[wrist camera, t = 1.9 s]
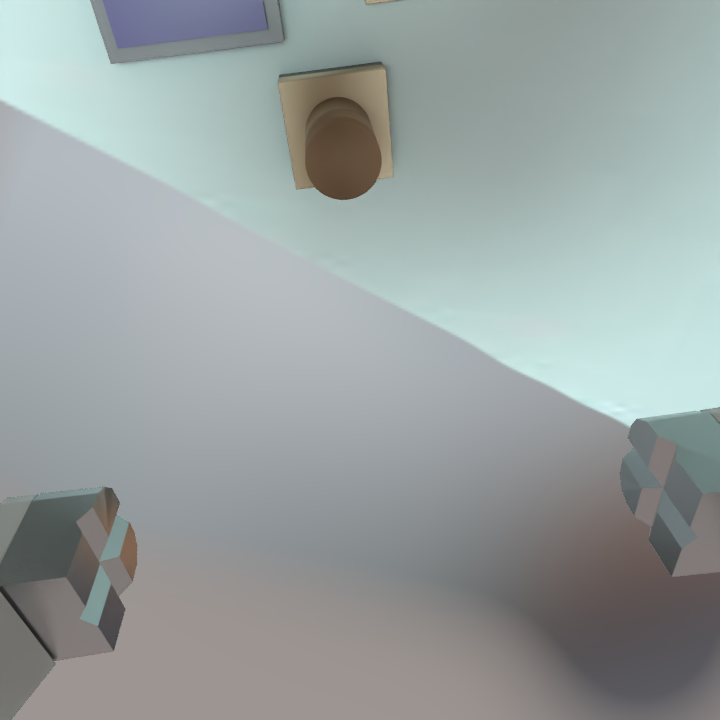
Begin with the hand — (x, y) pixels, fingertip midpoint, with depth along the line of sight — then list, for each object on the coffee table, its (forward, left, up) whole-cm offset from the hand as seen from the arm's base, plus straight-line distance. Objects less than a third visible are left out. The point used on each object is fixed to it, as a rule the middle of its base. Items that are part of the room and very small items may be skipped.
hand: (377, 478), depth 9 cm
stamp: (0, 0, -25) cm, 25 cm away
